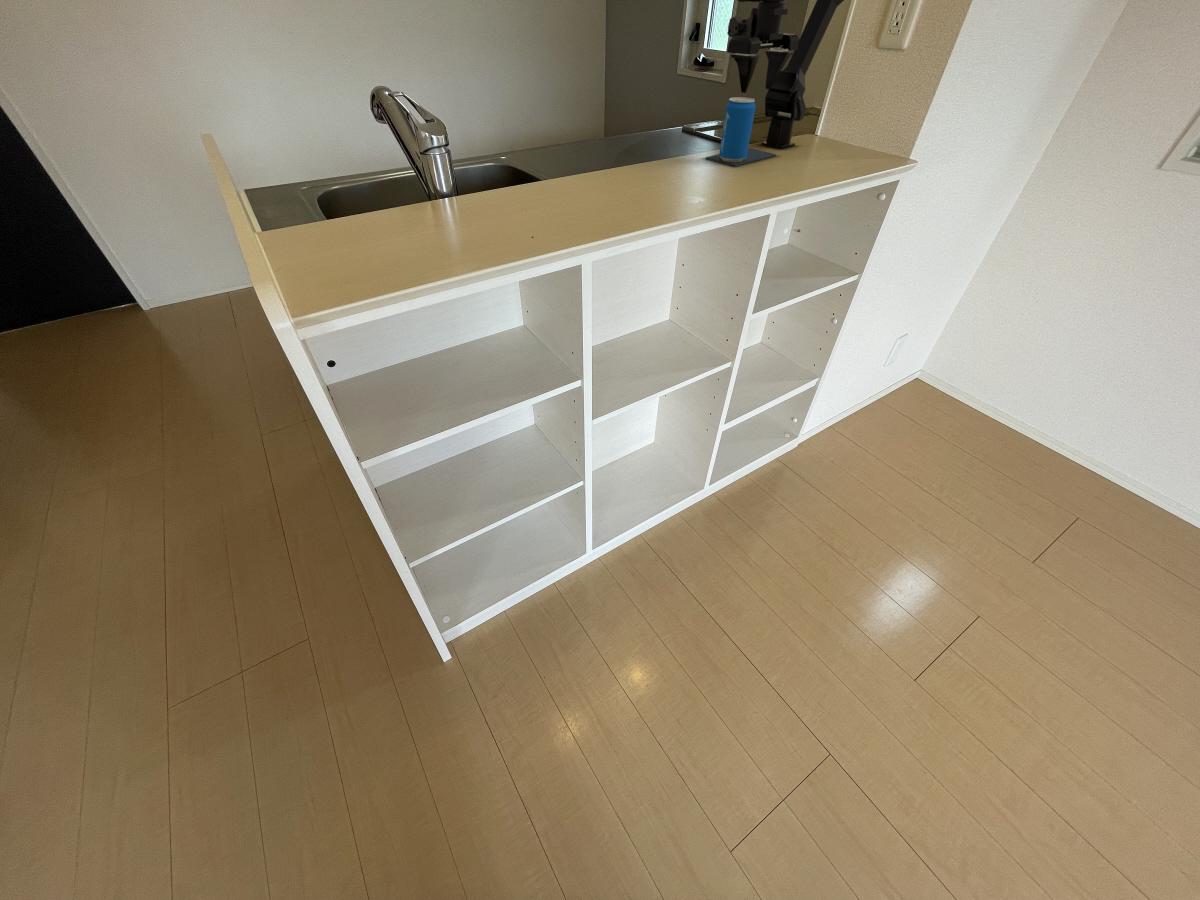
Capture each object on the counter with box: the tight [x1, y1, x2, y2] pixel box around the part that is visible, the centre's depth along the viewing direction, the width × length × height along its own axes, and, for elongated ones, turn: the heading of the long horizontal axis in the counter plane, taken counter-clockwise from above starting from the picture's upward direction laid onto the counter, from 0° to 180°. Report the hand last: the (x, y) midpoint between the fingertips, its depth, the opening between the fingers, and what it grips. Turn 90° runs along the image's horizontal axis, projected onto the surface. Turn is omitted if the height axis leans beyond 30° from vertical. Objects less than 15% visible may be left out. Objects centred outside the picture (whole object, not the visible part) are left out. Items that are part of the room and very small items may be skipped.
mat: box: [705, 147, 777, 168], centre depth 124 cm, size 16×9×1 cm, turn 130°
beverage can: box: [718, 96, 756, 162], centre depth 117 cm, size 6×6×12 cm
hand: (755, 90), depth 118 cm, fingers open, 9 cm apart
